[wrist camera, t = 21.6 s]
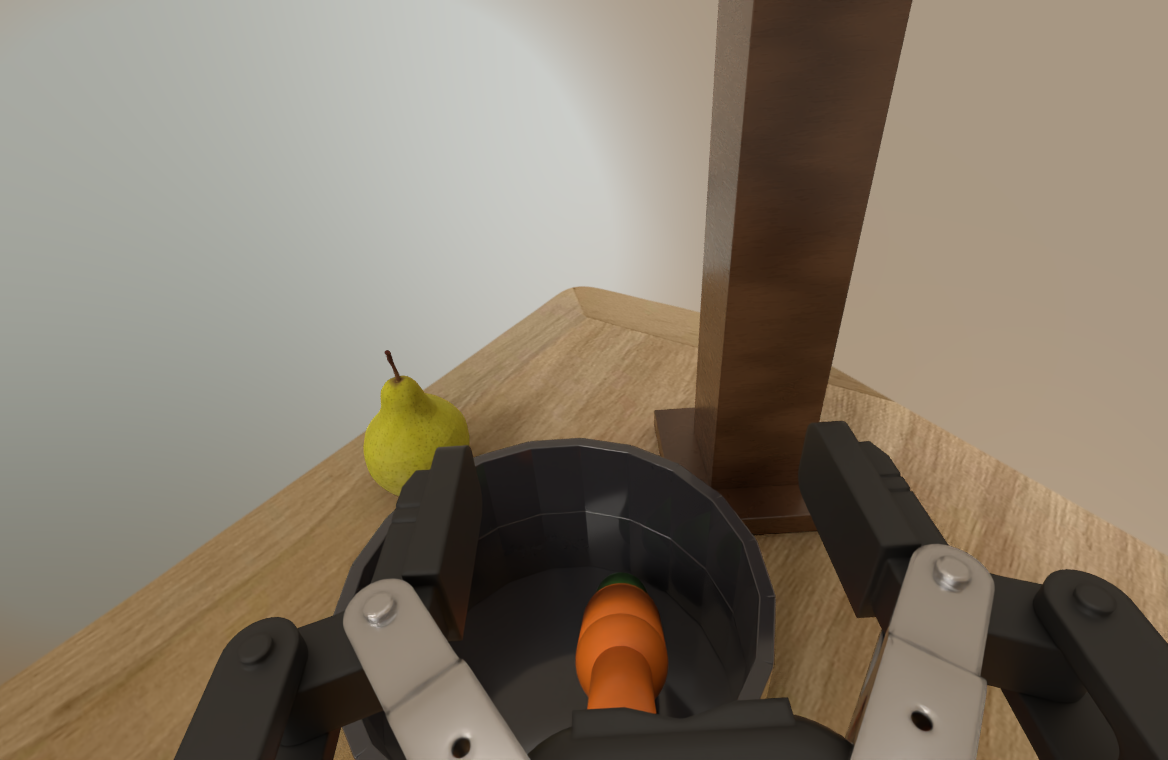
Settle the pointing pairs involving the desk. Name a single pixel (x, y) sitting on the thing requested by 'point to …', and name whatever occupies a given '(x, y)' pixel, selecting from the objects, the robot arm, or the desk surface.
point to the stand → (781, 237)
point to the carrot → (621, 647)
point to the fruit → (409, 431)
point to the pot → (596, 584)
